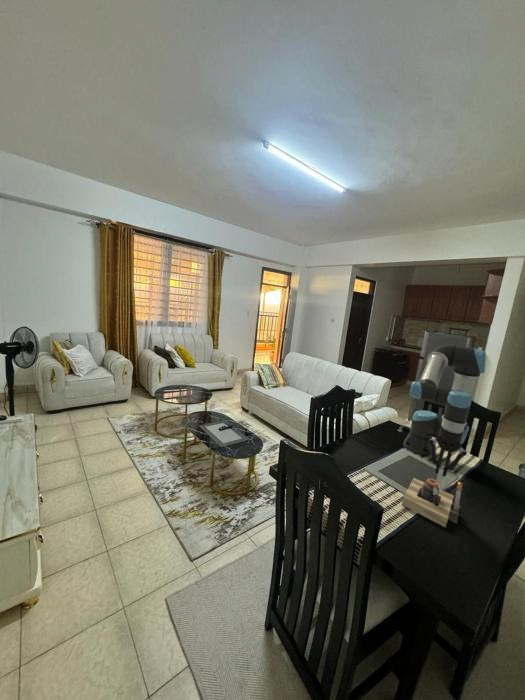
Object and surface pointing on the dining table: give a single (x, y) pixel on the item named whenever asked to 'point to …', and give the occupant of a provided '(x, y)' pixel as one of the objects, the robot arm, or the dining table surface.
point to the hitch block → (430, 504)
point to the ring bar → (457, 496)
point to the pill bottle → (430, 491)
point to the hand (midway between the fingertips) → (438, 481)
